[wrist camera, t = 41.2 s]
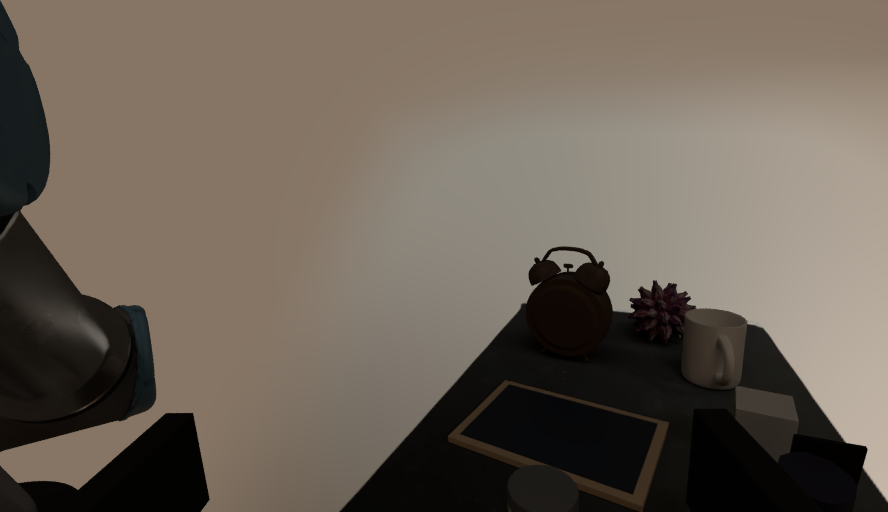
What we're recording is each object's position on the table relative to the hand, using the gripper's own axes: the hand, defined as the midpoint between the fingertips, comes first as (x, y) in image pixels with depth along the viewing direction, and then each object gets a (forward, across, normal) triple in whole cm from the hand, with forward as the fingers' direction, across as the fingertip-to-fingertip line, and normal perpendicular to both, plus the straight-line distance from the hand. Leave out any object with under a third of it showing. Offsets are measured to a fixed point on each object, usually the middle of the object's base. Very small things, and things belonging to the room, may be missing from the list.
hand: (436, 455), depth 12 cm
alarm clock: (+69, +17, -30) cm, 77 cm away
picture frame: (+44, +11, -30) cm, 55 cm away
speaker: (+27, +31, -30) cm, 51 cm away
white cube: (+42, +35, -30) cm, 63 cm away
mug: (+57, +37, -30) cm, 75 cm away
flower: (+74, +36, -30) cm, 88 cm away
